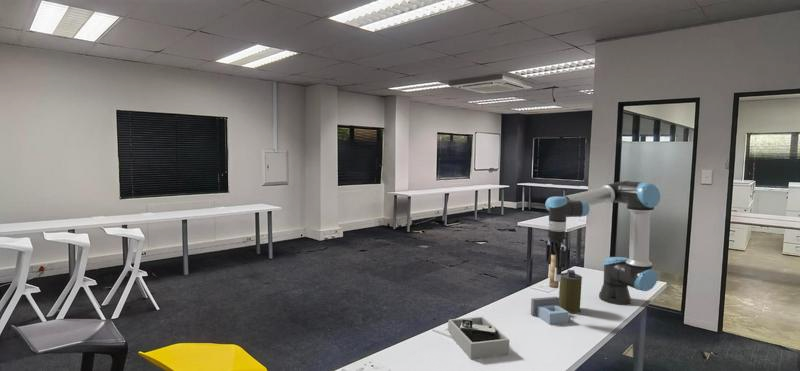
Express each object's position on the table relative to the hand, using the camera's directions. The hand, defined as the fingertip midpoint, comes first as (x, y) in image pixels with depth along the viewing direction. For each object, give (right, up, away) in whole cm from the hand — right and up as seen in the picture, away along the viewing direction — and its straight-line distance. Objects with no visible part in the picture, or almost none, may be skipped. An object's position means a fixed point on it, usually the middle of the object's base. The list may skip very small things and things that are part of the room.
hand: (554, 279), depth 193 cm
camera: (-41, -21, -25) cm, 52 cm away
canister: (+13, -19, +14) cm, 27 cm away
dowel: (0, -4, 0) cm, 4 cm away
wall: (-2, -19, +7) cm, 20 cm away
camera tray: (-41, -21, -25) cm, 52 cm away
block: (0, -19, +2) cm, 19 cm away
